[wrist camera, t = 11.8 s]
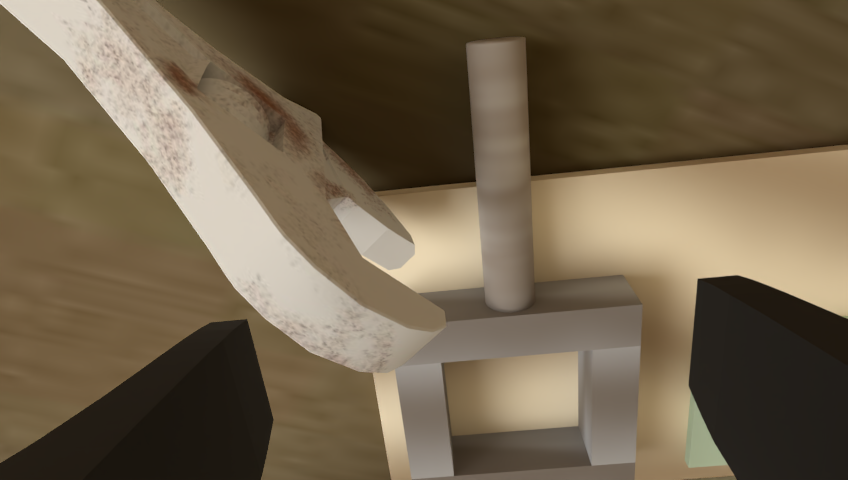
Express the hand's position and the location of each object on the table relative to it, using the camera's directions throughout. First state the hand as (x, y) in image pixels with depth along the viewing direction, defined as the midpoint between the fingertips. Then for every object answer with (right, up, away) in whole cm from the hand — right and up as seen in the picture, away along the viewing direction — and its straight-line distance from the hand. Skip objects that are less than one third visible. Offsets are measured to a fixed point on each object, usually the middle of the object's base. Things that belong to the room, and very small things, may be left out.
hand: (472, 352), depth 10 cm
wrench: (-11, +11, +7) cm, 18 cm away
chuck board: (+7, 0, +11) cm, 13 cm away
